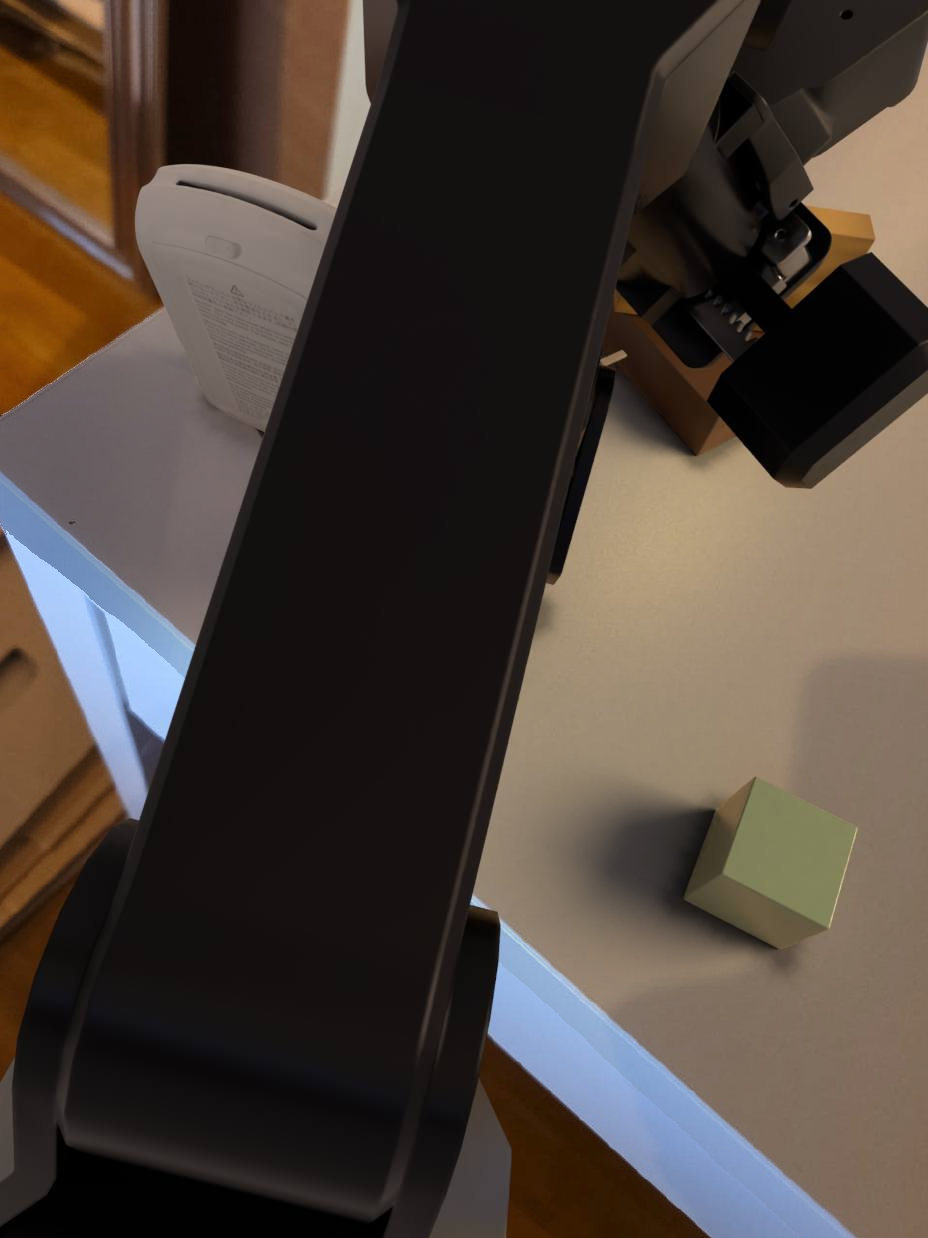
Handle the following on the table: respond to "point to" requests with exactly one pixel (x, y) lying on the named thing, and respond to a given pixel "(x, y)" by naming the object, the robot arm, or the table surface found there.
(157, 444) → the table surface
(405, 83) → the robot arm
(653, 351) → the block
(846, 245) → the wooden rectangular block
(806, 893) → the cube
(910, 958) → the table surface
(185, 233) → the photo printer
